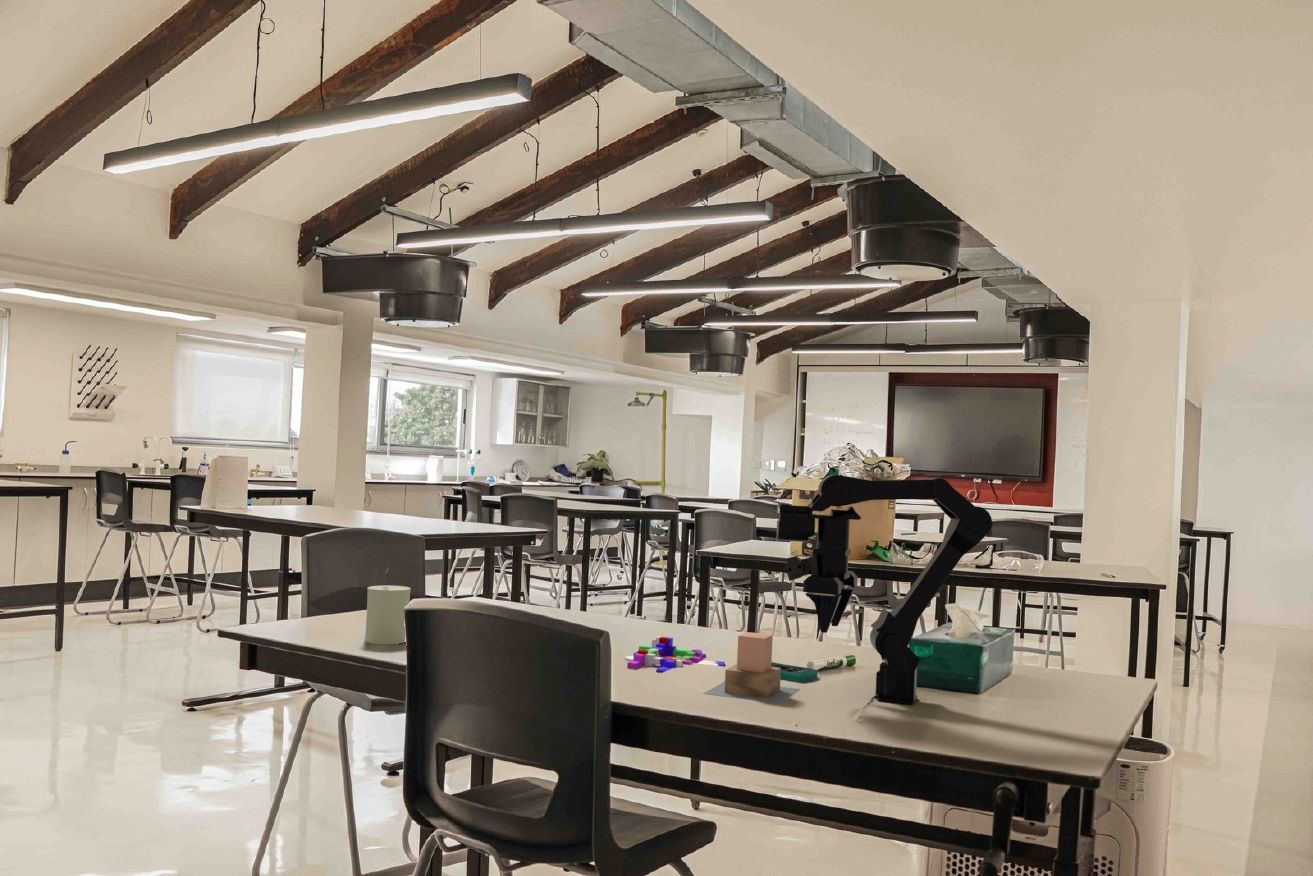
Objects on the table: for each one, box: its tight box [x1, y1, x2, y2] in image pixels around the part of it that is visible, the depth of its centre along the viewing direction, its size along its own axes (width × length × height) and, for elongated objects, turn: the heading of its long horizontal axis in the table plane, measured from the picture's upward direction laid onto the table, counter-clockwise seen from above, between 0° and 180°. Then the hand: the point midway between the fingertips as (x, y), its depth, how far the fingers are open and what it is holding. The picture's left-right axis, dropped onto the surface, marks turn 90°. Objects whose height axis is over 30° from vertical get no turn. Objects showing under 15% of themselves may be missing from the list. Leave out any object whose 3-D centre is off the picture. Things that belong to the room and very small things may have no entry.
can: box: [363, 584, 412, 646], centre depth 223 cm, size 9×9×12 cm
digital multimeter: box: [771, 661, 818, 683], centre depth 203 cm, size 7×15×3 cm, turn 55°
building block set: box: [624, 636, 726, 673], centre depth 215 cm, size 25×20×4 cm
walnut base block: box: [724, 663, 781, 698], centre depth 186 cm, size 8×8×4 cm
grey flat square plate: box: [702, 681, 801, 704], centre depth 186 cm, size 14×14×1 cm
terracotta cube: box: [736, 632, 774, 673], centre depth 186 cm, size 5×5×6 cm
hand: (829, 629), depth 188 cm, fingers open, 9 cm apart
